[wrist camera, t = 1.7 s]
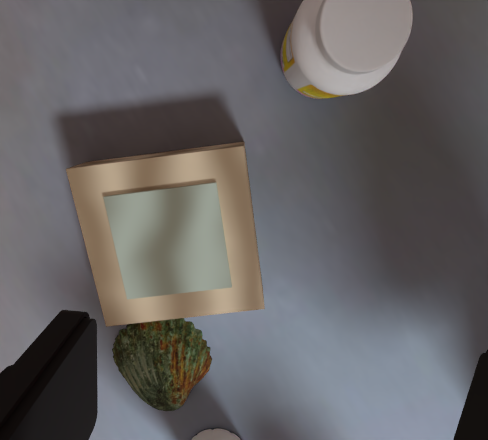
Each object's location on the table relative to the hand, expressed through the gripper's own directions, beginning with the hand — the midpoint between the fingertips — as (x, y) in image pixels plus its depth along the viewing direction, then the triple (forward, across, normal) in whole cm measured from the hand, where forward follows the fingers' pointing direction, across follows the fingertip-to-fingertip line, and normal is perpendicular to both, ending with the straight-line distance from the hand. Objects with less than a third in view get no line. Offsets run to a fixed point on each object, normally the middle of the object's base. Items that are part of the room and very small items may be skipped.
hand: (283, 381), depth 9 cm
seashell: (+27, +7, +19) cm, 34 cm away
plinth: (+26, +6, +5) cm, 28 cm away
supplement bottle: (+26, -4, -11) cm, 29 cm away
